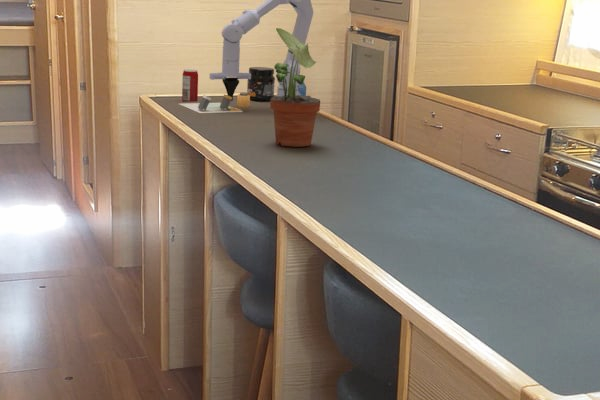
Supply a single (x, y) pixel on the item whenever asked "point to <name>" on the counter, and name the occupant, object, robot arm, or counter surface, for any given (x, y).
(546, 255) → the counter surface
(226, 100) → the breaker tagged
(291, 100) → the potted plant
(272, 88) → the supplement container
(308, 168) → the counter surface
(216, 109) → the panel
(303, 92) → the perfume bottle
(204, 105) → the breaker
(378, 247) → the counter surface
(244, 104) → the cap
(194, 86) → the soda can
